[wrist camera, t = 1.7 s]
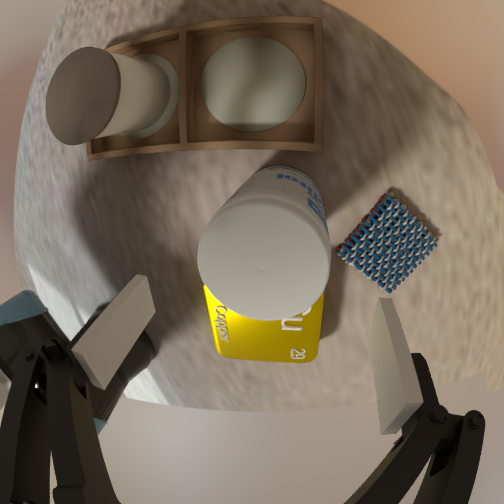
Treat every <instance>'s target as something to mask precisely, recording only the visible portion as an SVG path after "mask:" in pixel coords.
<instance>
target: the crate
mask: <svg viewBox="0 0 504 504" xmlns="http://www.w3.org/2000/svg"><path fill="white" fill-rule="evenodd" d="M104 50H106V51H107V52H110V53H115V54H119V55H124V56H128V57H132V58H136V59H140V60H144V61H148V62H151V63H155V64H157V65H158V66H160V67H161V68H162V69H163V70H164V71H165V72H166V74H167V76H168V78H169V82H170V89H171V91H170V99H169V103H168V105H167V108H166V110H165V112H164V113H163V115H162V116H161V117H160V119H159V120H158V121H157V122H156V123H154V124H153V125H152V126H150V127H148V128H146V129H143V130H138V131H132V132H126V133H120V134H114V135H109V136H104V137H99V138H95V139H93V140H91V141H89V142H86V146H87V156H88V161H91V160H97V159H104V158H111V157H118V156H126V155H135V154H145V153H156V152H168V151H183V150H205V149H275V150H297V151H312V152H322V144H323V112H324V62H323V32H322V18H316V17H298V16H263V17H244V18H233V19H224V20H216V21H209V22H202V23H196V24H191V25H185V26H181V27H176V28H171V29H167V30H163V31H159V32H155V33H152V34H148V35H145V36H141V37H138V38H135V39H132V40H128V41H125V42H123V43H120V44H117V45H114V46H111V47H109V48H106V49H104Z"/></svg>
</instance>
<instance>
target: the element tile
mask: <svg viewBox="0 0 504 504" xmlns="http://www.w3.org/2000/svg"><path fill="white" fill-rule="evenodd" d="M203 293H204V297H205V302H206V307H207V312H208V316H209V321H210V325H211V330H212V334H213V338H214V343H215V347H216V350H217V351H218V352H219V354H221V355H222V356H224V357H227V358H232V359H242V360H254V361H268V362H286V363H307V362H311V361H312V360H314V359H315V358H316V356H317V353H318V346H319V338H320V330H321V321H322V312H323V302H324V291H323V293H322V294H321V296H320V297H319V299H318V300H317V301H316V302H315V303H314V304H313V305H312V306H311V307H309V308H308V309H307V310H305V311H303V312H302V313H300V314H298V315H295V316H293V317H290V318H286V319H282V320H271V321H266V320H257V319H251V318H248V317H244V316H242V315H239V314H237V313H235V312H233V311H231V310H229V309H228V308H226V307H225V306H223V305H222V304H221V303H220V302H218V301H217V300H216V299H215V298H214V297H213V296H212V294H211V293H210V292H209V291H208V289H207V288H206V286H205V284H203Z"/></svg>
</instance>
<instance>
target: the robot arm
mask: <svg viewBox="0 0 504 504" xmlns="http://www.w3.org/2000/svg"><path fill="white" fill-rule="evenodd" d="M155 312H156V311H155V307H154V303H153V299H152V295H151V291H150V287H149V283H148V279H147V276H144V275H137V274H136V275H135V276H134V278H133V279H132V280H131V281H130V282H129V283H128V284H127V285H126V286H125V287H124V288H123V289H122V291H121V292H120V293H119V294H118V295H117V296H116V297H115V298H114V300H113V301H112V302H111V303H110V304H109V305H108V306H107V307H106V309H105V308H103V309H98V310H96V311H95V312H94V313H93V315H92V316H91V317H90V318H89V320H88V322H87V323H86V324H85V325H84V327H82V329H81V330H80V332H78V333H77V335H76V336H75V337H74V338H73V339H72V341H70V340H69V339H68V337H67V336H66V335H65V334H64V332H63V331H62V330H61V328H60V327H59V326H58V324H57V323H56V322H55V320H54V319H53V317H52V316H51V315H50V313H49V312H48V308H46V307H45V306H44V304H43V303H42V302H41V300H40V299H39V298H38V296H37V295H36V294H35V293H34V292H33V291H31V290H24V291H22V292H20V293H19V294H17V295H15V296H14V297H12V298H11V299H10V300H8V301H6V302H5V303H3V304H2V305H0V410H1V409H2V407H3V406H4V405H5V404H6V405H5V409H4V413H3V417H2V422H1V426H0V504H50V491H49V490H50V484H49V483H50V480H49V479H50V455H51V452H52V458H53V464H54V470H55V475H56V480H57V487H56V488H54V489H53V499H54V502H55V504H121V503H120V502H119V501H118V499H117V497H116V495H115V492H114V490H113V487H112V484H111V481H110V478H109V475H108V472H107V469H106V465H105V462H104V458H103V455H102V451H101V448H100V443H99V439H98V435H99V433H100V432H101V430H102V429H103V427H104V426H105V424H107V420H108V419H109V417H110V415H111V413H112V411H113V409H114V408H115V406H116V404H117V402H118V400H119V398H120V397H121V395H122V393H123V391H124V389H125V388H126V386H127V384H128V382H129V381H131V380H132V379H133V378H134V377H135V376H137V375H138V374H139V373H140V372H141V371H142V370H144V369H145V368H147V367H148V365H149V364H150V362H151V360H152V359H153V356H154V348H153V345H152V343H151V341H150V339H149V338H148V336H147V335H146V334H145V332H144V331H143V330H144V328H145V327H146V325H147V324H148V322H149V321H150V320H151V318H152V317H153V315H154V314H155ZM367 339H368V344H369V350H370V355H371V361H372V367H373V374H374V380H375V387H376V395H377V402H378V411H379V420H380V431H381V435H386V434H396V433H397V432H398V431H399V430H400V429H401V428H402V436H401V437H400V438H399V439H398V440H397V441H396V442H395V443H394V444H395V445H394V446H393V448H392V449H391V451H390V452H389V453H388V454H387V456H386V457H385V458H384V459H383V461H382V462H381V463H380V464H379V466H378V467H377V468H376V469H375V470H374V472H373V473H372V474H371V475H370V476H369V477H368V479H367V480H366V481H365V482H364V483H363V484H362V485H361V486H360V487H359V489H358V490H357V491H356V492H355V493H354V494H353V495H352V496H351V497H350V498H349V499H348V500H347V501H346V502H345V503H344V504H398V503H399V502H400V501H401V499H402V498H403V497H404V495H405V494H406V493H407V492H408V490H409V489H410V487H411V486H412V485H413V483H414V482H415V480H416V479H417V477H418V476H419V474H420V473H421V471H422V470H423V468H424V466H425V465H426V463H427V462H428V460H429V458H430V457H431V459H430V462H429V465H428V468H427V471H426V473H425V476H424V479H423V481H422V484H421V486H420V489H419V491H418V494H417V496H416V499H415V500H414V503H413V504H468V501H469V499H470V495H471V492H472V489H473V485H474V481H475V478H476V474H477V470H478V465H479V461H480V455H481V450H482V445H483V438H484V430H485V419H484V416H483V415H482V414H481V413H480V412H478V411H476V410H472V411H469V412H468V413H467V414H466V415H465V416H460V415H454V414H450V413H448V411H447V409H446V408H445V407H443V406H442V405H440V404H439V402H438V398H437V395H436V391H435V388H434V384H433V381H432V378H431V374H430V371H429V368H428V365H427V361H426V360H425V358H424V357H423V356H422V355H421V353H410V350H409V347H408V344H407V341H406V338H405V335H404V332H403V329H402V326H401V323H400V320H399V317H398V314H397V311H396V309H395V306H394V303H393V301H392V298H379V299H378V302H377V306H376V309H375V312H374V315H373V318H372V321H371V324H370V327H369V330H368V332H367ZM431 455H432V456H431Z"/></svg>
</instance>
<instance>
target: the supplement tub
mask: <svg viewBox="0 0 504 504" xmlns="http://www.w3.org/2000/svg"><path fill="white" fill-rule="evenodd" d="M330 262H331V246H330V239H329V233H328V228H327V222H326V217H325V212H324V207H323V202H322V198H321V195H320V192H319V190H318V188H317V186H316V185H315V183H314V182H313V181H312V180H311V179H310V178H309V177H308V176H307V175H305V174H304V173H302V172H301V171H299V170H296V169H293V168H290V167H285V166H272V167H268V168H265V169H262V170H260V171H258V172H256V173H255V174H254V175H252V176H251V177H250V178H249V179H248V180H247V181H246V182H245V183H244V184H243V185H242V186H241V187H240V188H239V189H238V190H237V191H236V192H235V193H234V194H233V195H232V196H231V197H230V198H229V200H228V201H227V202H226V203H225V204H224V205H223V206H222V207H221V208H220V209H219V210H218V212H217V213H216V214H215V215H214V216H213V217H212V219H211V220H210V222H209V223H208V225H207V227H206V229H205V230H204V232H203V234H202V236H201V239H200V242H199V245H198V251H197V263H198V269H199V272H200V276H201V278H202V280H203V282H204V284H205V286H206V288H207V289H208V291H209V292H210V293H211V294H212V296H213V297H214V298H215V299H216V300H217V301H218V302H220V303H221V304H222V305H223V306H225V307H226V308H228V309H229V310H231V311H233V312H235V313H237V314H239V315H242V316H244V317H248V318H251V319H257V320H266V321H271V320H282V319H286V318H290V317H293V316H295V315H298V314H300V313H302V312H303V311H305V310H307V309H308V308H309V307H311V306H312V305H313V304H314V303H315V302H316V301H317V300H318V299H319V297H320V296H321V294H322V293H323V291H324V290H325V287H326V285H327V282H328V279H329V274H330Z"/></svg>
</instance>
